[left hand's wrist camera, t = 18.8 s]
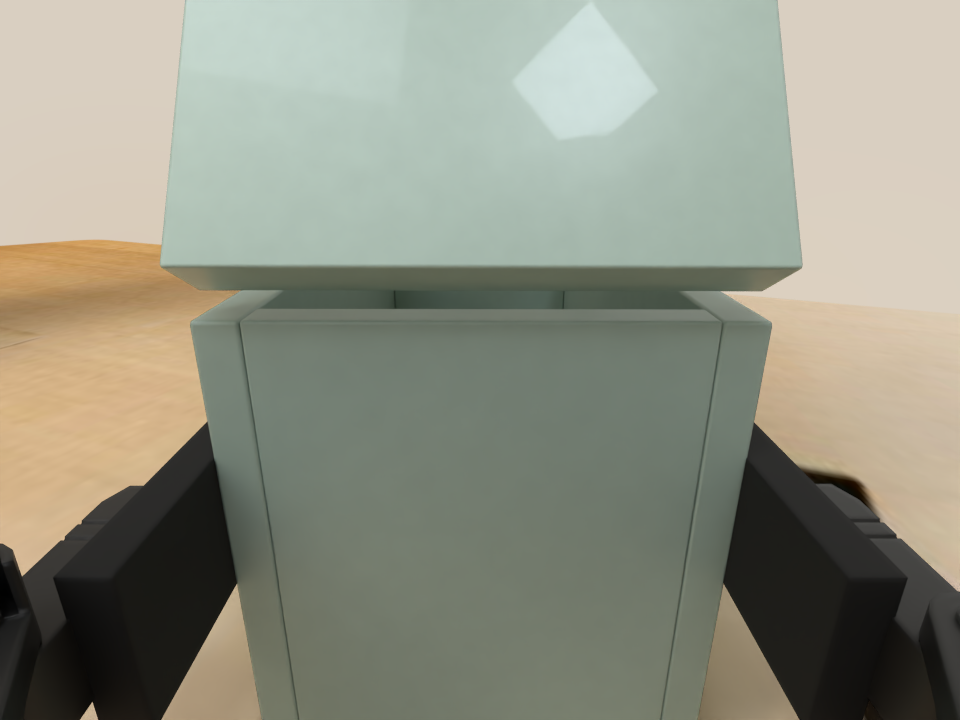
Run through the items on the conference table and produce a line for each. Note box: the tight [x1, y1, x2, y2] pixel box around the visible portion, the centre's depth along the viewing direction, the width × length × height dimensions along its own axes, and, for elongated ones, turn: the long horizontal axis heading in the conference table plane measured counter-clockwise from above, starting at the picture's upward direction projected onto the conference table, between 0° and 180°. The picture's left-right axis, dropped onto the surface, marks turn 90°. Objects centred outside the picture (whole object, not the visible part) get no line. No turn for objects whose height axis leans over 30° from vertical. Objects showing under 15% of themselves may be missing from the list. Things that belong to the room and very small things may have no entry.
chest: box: [190, 290, 772, 720], centre depth 19 cm, size 17×9×10 cm, turn 0°
